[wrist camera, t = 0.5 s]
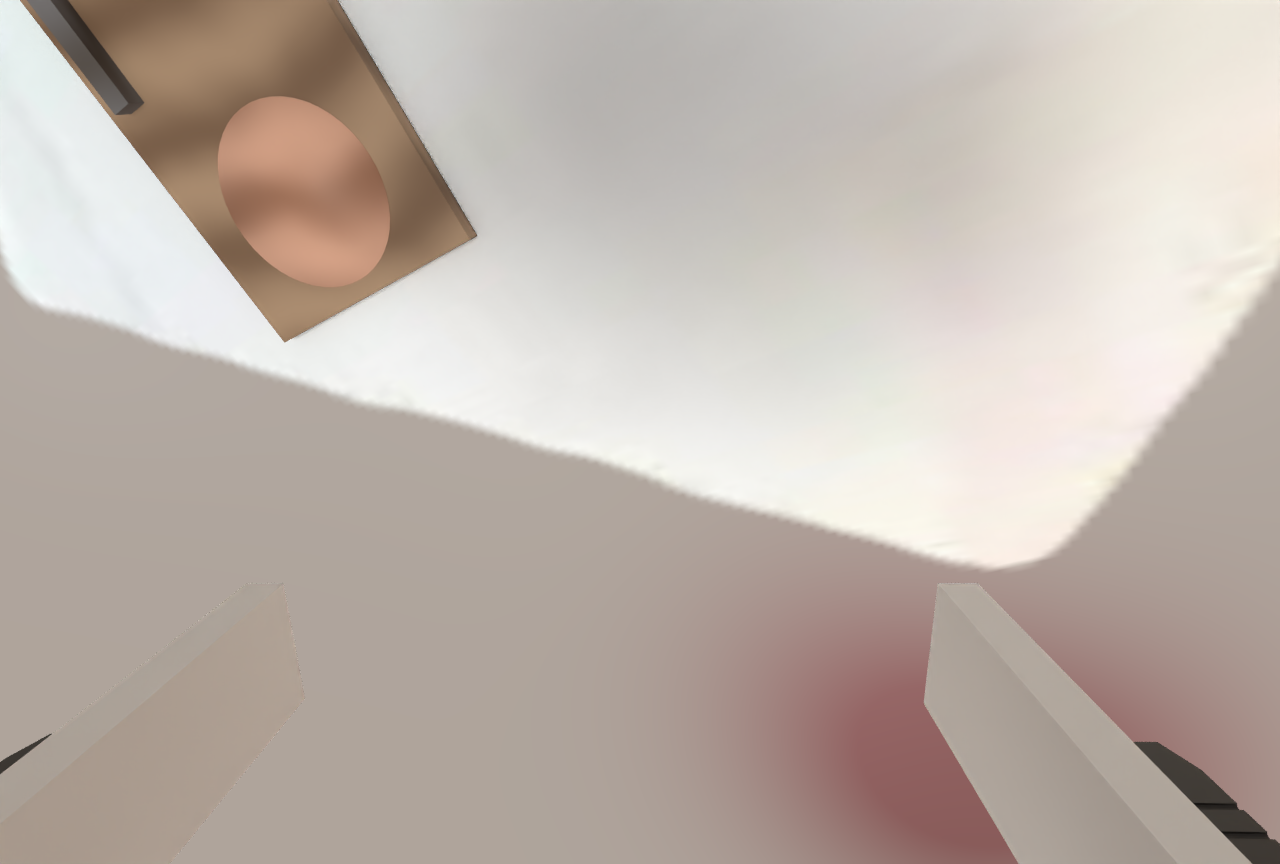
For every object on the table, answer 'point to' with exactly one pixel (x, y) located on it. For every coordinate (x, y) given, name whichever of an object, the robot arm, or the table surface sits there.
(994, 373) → the table surface
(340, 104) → the walnut board
